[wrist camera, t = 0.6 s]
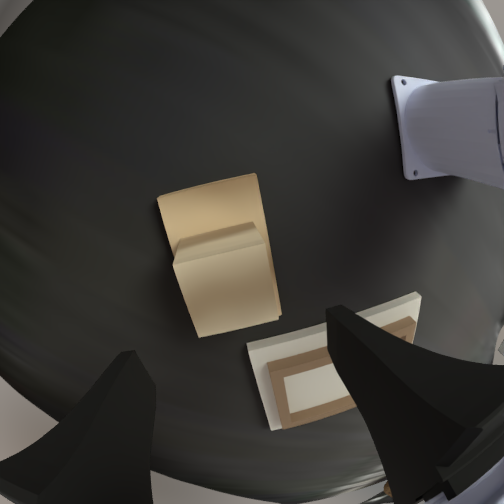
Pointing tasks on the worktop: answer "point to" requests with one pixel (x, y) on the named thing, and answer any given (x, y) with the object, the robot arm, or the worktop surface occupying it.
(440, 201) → the worktop surface
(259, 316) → the flange block
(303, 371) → the keyed base
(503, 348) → the small box
